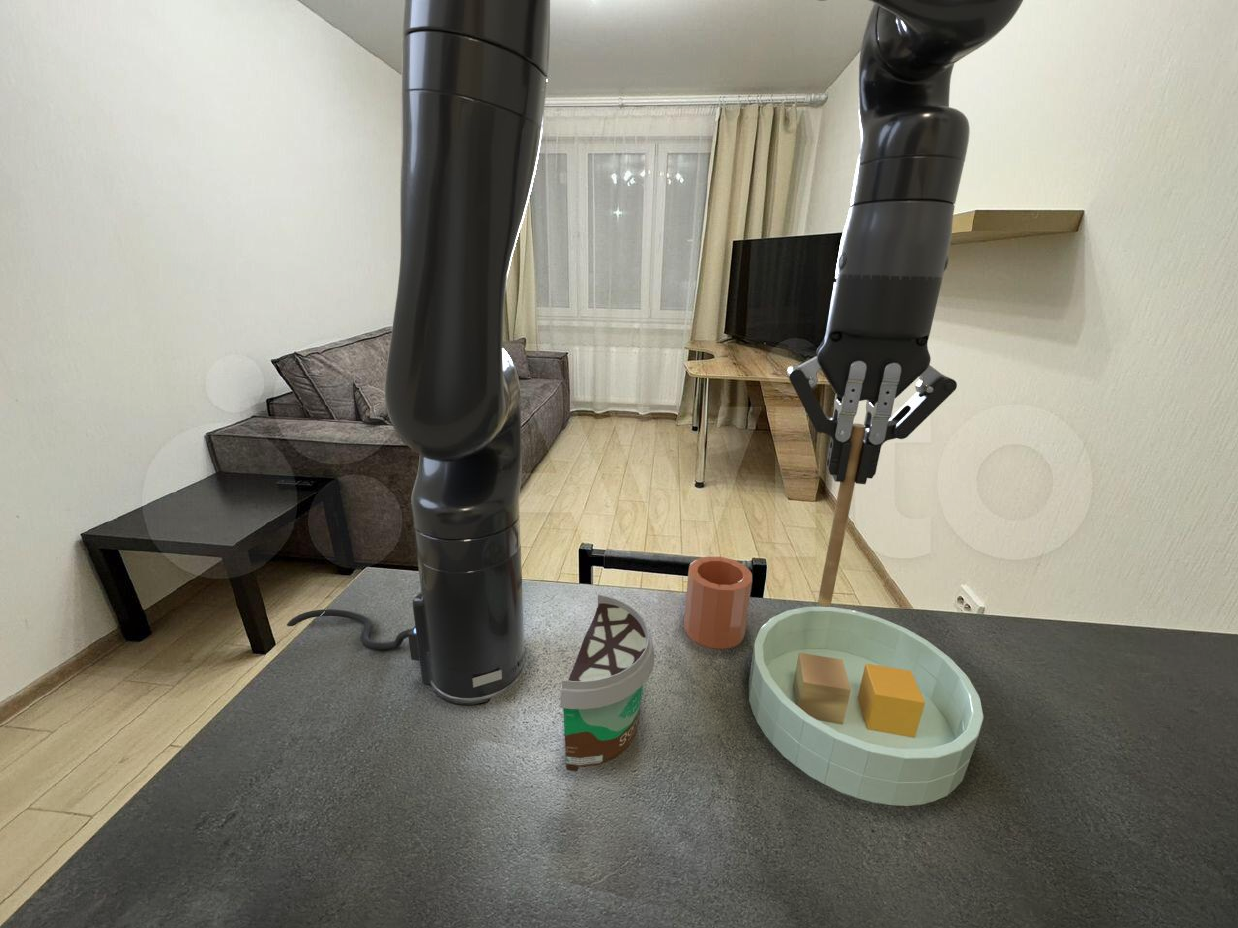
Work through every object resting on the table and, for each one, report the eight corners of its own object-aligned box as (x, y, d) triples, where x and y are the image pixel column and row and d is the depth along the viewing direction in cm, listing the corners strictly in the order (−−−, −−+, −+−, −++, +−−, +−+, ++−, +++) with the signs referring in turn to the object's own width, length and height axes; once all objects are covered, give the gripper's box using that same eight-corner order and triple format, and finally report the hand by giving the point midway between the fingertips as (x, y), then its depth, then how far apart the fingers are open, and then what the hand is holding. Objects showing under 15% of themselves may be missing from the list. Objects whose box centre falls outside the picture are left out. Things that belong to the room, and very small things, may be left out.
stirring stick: (818, 606, 50) (852, 426, 44) (816, 599, 51) (849, 422, 45) (831, 608, 50) (867, 427, 44) (829, 600, 51) (864, 423, 45)
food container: (637, 802, 40) (643, 700, 37) (560, 785, 41) (559, 685, 38) (658, 686, 52) (664, 600, 48) (597, 676, 53) (599, 591, 49)
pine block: (797, 716, 48) (803, 681, 46) (792, 685, 52) (798, 652, 50) (843, 724, 47) (851, 689, 46) (835, 692, 51) (842, 659, 49)
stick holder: (680, 647, 57) (686, 584, 54) (686, 610, 64) (691, 552, 61) (744, 658, 56) (753, 594, 53) (743, 619, 62) (751, 560, 60)
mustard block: (866, 729, 47) (875, 694, 45) (857, 696, 50) (865, 662, 49) (915, 738, 46) (925, 702, 45) (901, 704, 50) (911, 670, 48)
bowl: (750, 782, 42) (758, 730, 40) (746, 636, 59) (752, 595, 57) (1006, 835, 39) (1029, 781, 37) (924, 664, 56) (936, 621, 54)
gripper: (965, 274, 43) (917, 473, 48) (792, 269, 45) (766, 459, 51) (1009, 274, 36) (947, 505, 42) (801, 268, 38) (771, 487, 44)
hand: (847, 479), depth 46 cm, fingers closed on stirring stick, 1 cm apart
